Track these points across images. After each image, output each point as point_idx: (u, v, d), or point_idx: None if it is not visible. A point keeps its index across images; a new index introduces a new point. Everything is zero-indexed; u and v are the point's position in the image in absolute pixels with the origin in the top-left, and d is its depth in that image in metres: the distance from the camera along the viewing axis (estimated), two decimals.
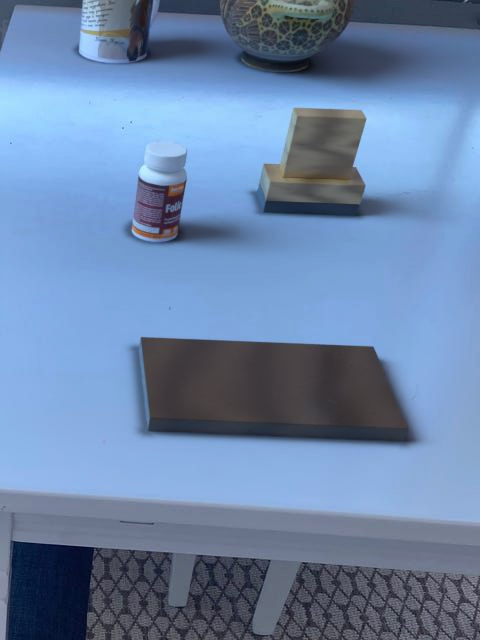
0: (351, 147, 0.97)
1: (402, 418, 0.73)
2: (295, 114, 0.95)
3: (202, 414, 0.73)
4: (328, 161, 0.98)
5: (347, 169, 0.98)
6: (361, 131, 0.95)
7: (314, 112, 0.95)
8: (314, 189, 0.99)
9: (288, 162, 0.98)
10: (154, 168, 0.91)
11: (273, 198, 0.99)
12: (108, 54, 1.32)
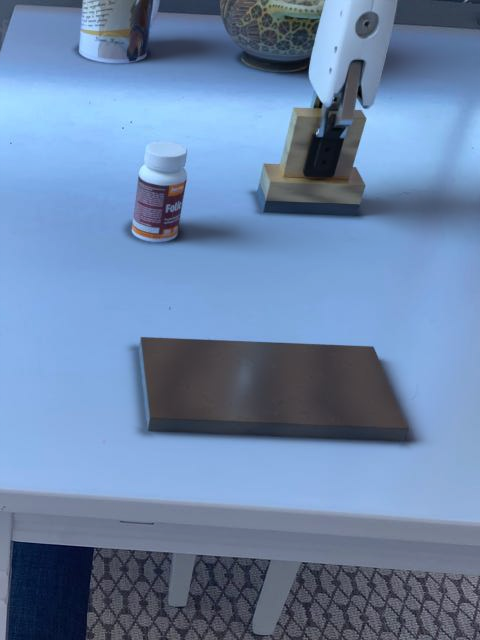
0: (351, 147, 0.97)
1: (402, 418, 0.73)
2: (295, 114, 0.95)
3: (202, 414, 0.73)
4: None
5: (347, 169, 0.98)
6: (361, 131, 0.95)
7: (314, 111, 0.95)
8: (314, 189, 0.99)
9: (288, 162, 0.98)
10: (154, 168, 0.91)
11: (273, 198, 0.99)
12: (108, 54, 1.31)
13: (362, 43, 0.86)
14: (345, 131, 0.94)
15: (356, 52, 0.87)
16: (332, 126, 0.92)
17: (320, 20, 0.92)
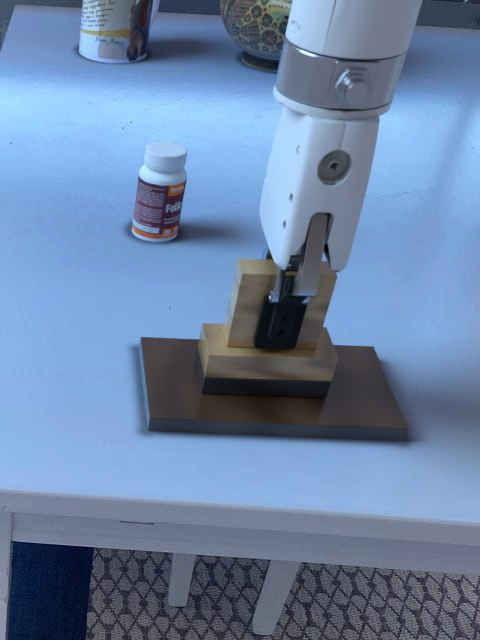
0: (318, 311, 0.71)
1: (402, 418, 0.73)
2: (240, 270, 0.69)
3: (202, 414, 0.73)
4: None
5: (313, 337, 0.72)
6: (331, 292, 0.69)
7: (265, 266, 0.69)
8: (268, 364, 0.73)
9: (233, 329, 0.72)
10: (154, 168, 0.91)
11: (214, 374, 0.74)
12: (108, 54, 1.32)
13: (328, 191, 0.61)
14: (308, 296, 0.68)
15: (319, 203, 0.61)
16: (289, 293, 0.67)
17: (272, 146, 0.67)
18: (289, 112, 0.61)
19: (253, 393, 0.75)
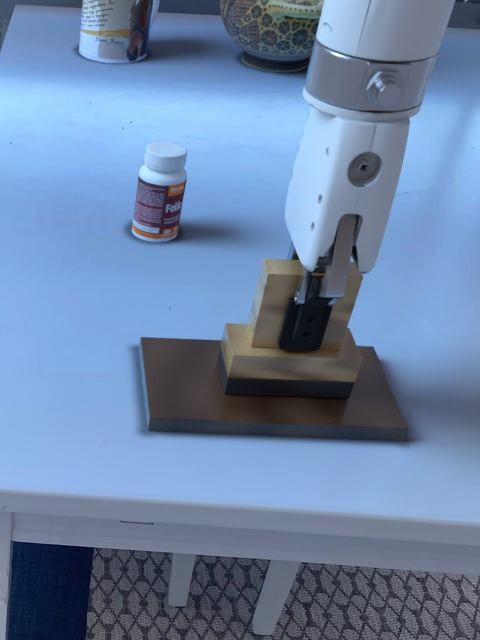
0: (342, 312, 0.71)
1: (402, 418, 0.73)
2: (265, 270, 0.69)
3: (202, 414, 0.73)
4: None
5: (337, 338, 0.72)
6: (356, 292, 0.69)
7: (291, 266, 0.69)
8: (292, 364, 0.73)
9: (257, 329, 0.72)
10: (154, 168, 0.91)
11: (237, 374, 0.74)
12: (108, 54, 1.31)
13: (357, 193, 0.61)
14: (334, 298, 0.68)
15: (349, 205, 0.61)
16: (316, 295, 0.67)
17: (299, 148, 0.67)
18: (318, 114, 0.62)
19: (276, 393, 0.75)
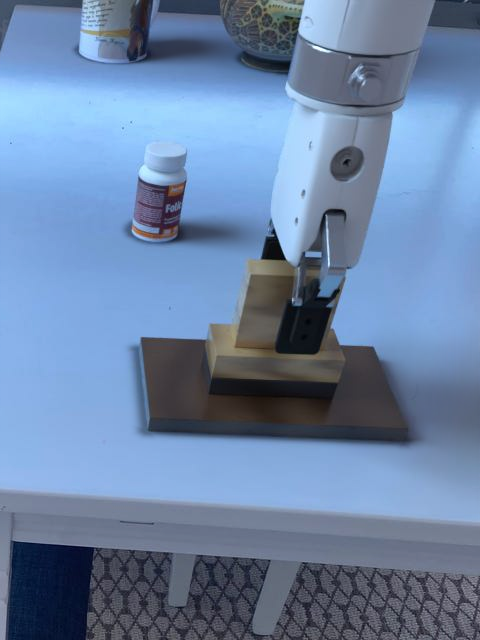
0: None
1: (402, 418, 0.73)
2: (248, 270, 0.69)
3: (202, 414, 0.73)
4: None
5: None
6: (339, 293, 0.70)
7: (274, 267, 0.70)
8: (275, 365, 0.73)
9: (241, 329, 0.72)
10: (154, 168, 0.91)
11: (221, 374, 0.74)
12: (108, 54, 1.32)
13: (340, 188, 0.60)
14: None
15: (332, 200, 0.61)
16: (316, 292, 0.63)
17: (284, 143, 0.66)
18: (301, 108, 0.61)
19: (260, 394, 0.75)
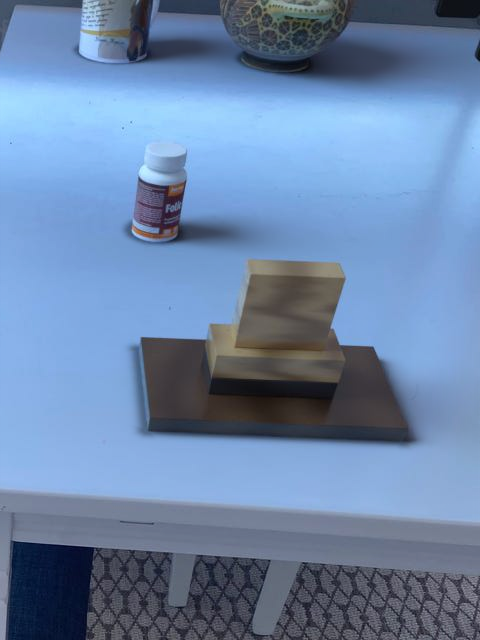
0: (325, 312, 0.71)
1: (402, 418, 0.73)
2: (248, 270, 0.69)
3: (202, 414, 0.73)
4: (294, 328, 0.72)
5: (321, 338, 0.72)
6: (339, 293, 0.70)
7: (274, 267, 0.70)
8: (275, 365, 0.73)
9: (241, 329, 0.72)
10: (154, 168, 0.91)
11: (221, 374, 0.74)
12: (108, 54, 1.31)
13: None
14: None
15: None
16: None
17: None
18: None
19: (260, 394, 0.75)
